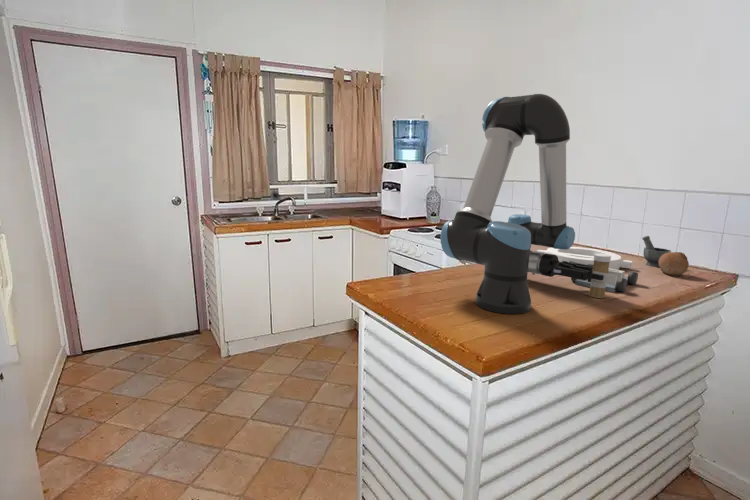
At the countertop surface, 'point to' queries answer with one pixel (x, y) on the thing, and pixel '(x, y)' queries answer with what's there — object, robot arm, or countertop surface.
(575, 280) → the toy chassis
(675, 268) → the brown round lump
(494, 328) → the countertop surface
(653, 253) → the mortar and pestle
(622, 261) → the white circle with bar
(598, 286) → the spice jar
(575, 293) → the countertop surface
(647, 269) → the countertop surface
